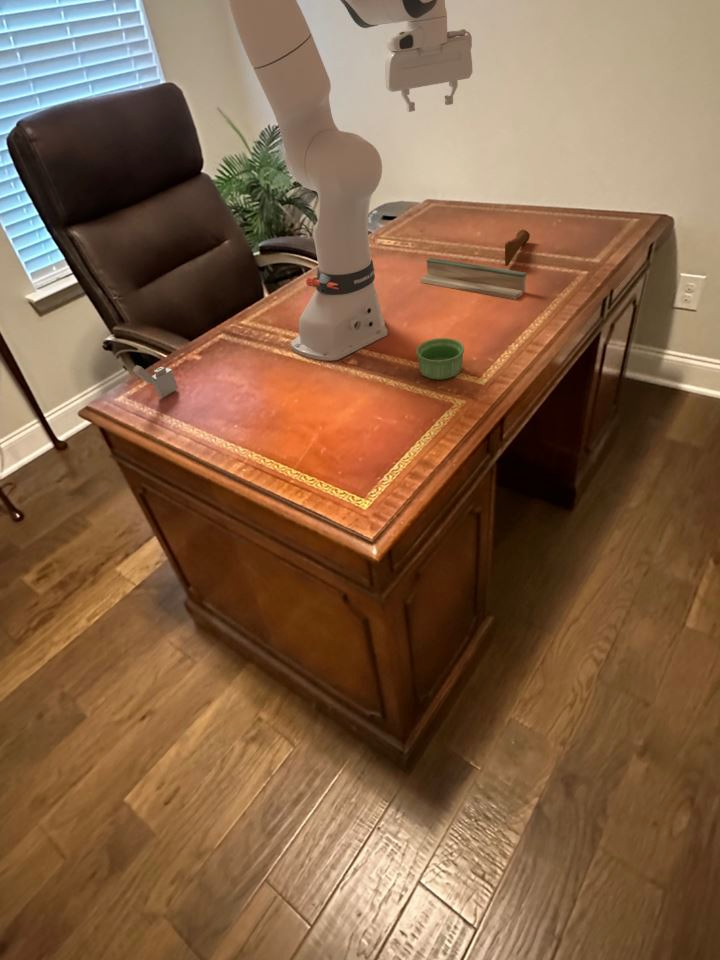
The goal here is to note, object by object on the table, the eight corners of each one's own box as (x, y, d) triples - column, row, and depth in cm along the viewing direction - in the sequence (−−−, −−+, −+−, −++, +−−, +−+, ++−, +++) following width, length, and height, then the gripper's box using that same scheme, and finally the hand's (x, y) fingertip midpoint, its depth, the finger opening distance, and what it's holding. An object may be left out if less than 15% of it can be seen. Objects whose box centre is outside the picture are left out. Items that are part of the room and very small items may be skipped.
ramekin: (461, 356, 116) (461, 335, 113) (466, 379, 109) (466, 358, 106) (416, 360, 116) (415, 340, 114) (418, 383, 109) (417, 362, 107)
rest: (515, 299, 132) (516, 280, 129) (420, 282, 146) (419, 264, 143) (525, 292, 134) (526, 272, 131) (431, 275, 148) (430, 257, 145)
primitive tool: (504, 267, 145) (518, 266, 143) (504, 244, 141) (519, 243, 140) (516, 243, 158) (529, 242, 157) (516, 222, 155) (530, 221, 154)
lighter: (173, 386, 120) (160, 351, 115) (178, 388, 119) (165, 352, 114) (145, 403, 116) (130, 367, 111) (151, 405, 115) (136, 369, 110)
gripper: (466, 27, 133) (466, 98, 142) (380, 42, 131) (385, 113, 140) (477, 27, 128) (476, 101, 137) (387, 43, 126) (392, 117, 135)
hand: (430, 107), depth 139 cm, fingers open, 8 cm apart
